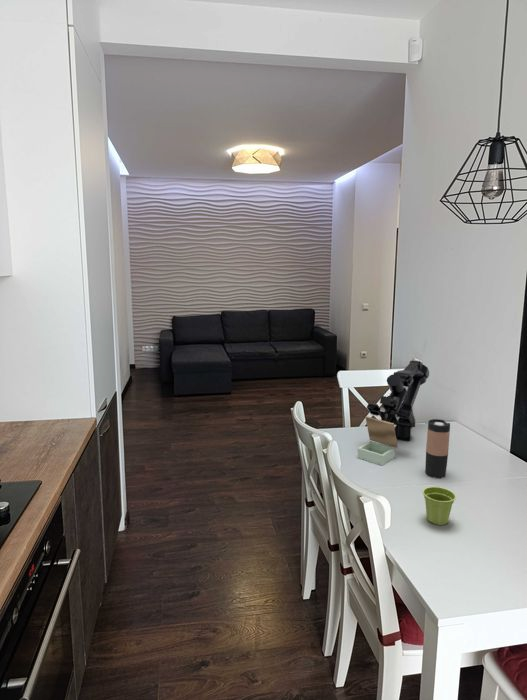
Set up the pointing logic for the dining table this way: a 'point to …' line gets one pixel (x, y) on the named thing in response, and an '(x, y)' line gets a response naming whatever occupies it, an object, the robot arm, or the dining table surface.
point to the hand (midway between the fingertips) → (382, 430)
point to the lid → (381, 431)
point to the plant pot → (438, 504)
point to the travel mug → (437, 448)
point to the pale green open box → (376, 453)
